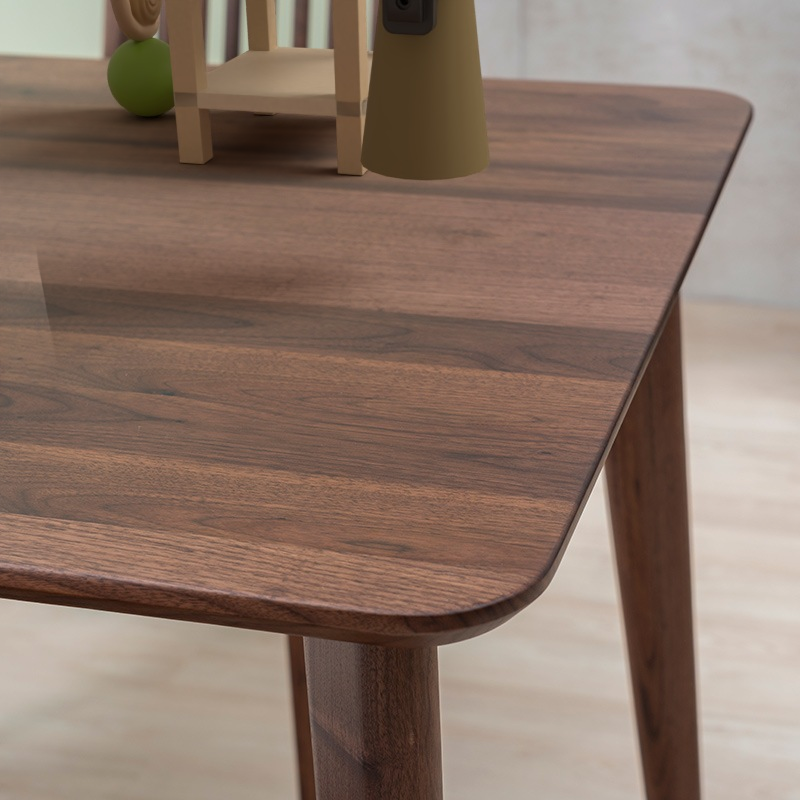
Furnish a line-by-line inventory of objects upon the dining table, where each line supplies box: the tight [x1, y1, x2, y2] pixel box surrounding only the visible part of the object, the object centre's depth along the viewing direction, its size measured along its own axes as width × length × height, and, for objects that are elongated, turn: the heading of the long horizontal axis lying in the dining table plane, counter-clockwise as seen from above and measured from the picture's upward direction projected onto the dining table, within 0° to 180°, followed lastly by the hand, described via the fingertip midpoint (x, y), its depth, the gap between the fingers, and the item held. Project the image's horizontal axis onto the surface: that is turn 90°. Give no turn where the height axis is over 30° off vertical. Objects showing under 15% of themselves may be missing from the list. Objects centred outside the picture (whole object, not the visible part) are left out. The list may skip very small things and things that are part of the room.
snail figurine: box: [106, 0, 175, 117], centre depth 86 cm, size 5×6×12 cm
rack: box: [164, 0, 373, 176], centre depth 81 cm, size 12×14×12 cm
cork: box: [360, 0, 491, 181], centre depth 56 cm, size 6×6×11 cm
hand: (426, 18), depth 56 cm, fingers closed on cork, 5 cm apart
